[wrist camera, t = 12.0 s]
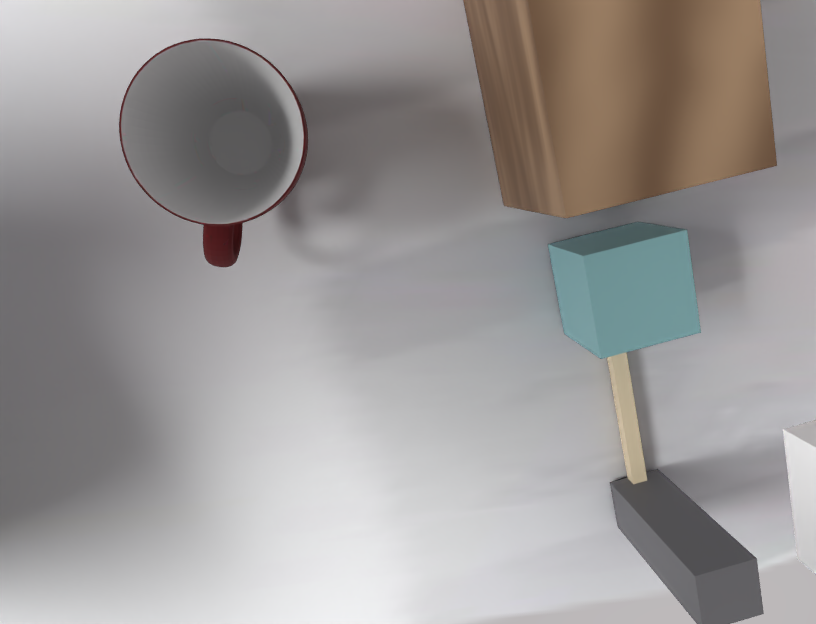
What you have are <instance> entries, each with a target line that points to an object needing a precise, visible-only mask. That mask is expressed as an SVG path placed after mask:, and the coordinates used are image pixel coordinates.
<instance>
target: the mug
mask: <svg viewBox="0 0 816 624" xmlns="http://www.w3.org/2000/svg"><path fill="white" fill-rule="evenodd" d="M119 133H120V141H121V146H122V151H123V154H124V157H125V160H126V163H127V165H128V167H129V169H130V171H131V173H132V175H133V177H134V178H135V180H136V181H137V183H138V184H139V186H140V187H141V188H142V189H143V190H144V192H145V193H146V194H147V195H148V196H149V197H150V198H151V199H152V200H153V201H155V202H156V203H157V204H158V205H159V206H161V207H162V208H164V209H165V210H167V211H168V212H170V213H172V214H174V215H176V216H178V217H180V218H182V219H185V220H188V221H191V222H194V223H198V224H203V225H204V227H203V248H204V255H205V258H206V260H207V261H208V262H209V263H210V264H212V265H213V266H218V267H229V266H232V265H233V264H234V263H235V262H236V260H237V258H238V255H239V251H240V246H241V239H242V223H243V222H247V221H249V220H252V219H255V218H257V217H259V216H262V215H264V214H265V213H267V212H269V211H270V210H272V209H273V208H274V207H276V206H277V205H278V204H279V203H281V202H282V201H283V200H284V199H285V198H286V197H287V196H288V194H289V193H290V192H291V191H292V189H293V188H294V186H295V185H296V183H297V181H298V180H299V177H300V175H301V173H302V170H303V167H304V165H305V161H306V156H307V149H308V131H307V124H306V119H305V116H304V112H303V109H302V107H301V104H300V102H299V100H298V98H297V95H296V94H295V92H294V90H293V89H292V87H291V85H290V84H289V83H288V81H287V80H286V79H285V77H284V76H283V75H282V74H281V73H280V71H279V70H278V69H277V68H276V67H275V66H274V65H273V64H271V63H270V62H269V61H268V60H267V59H265V58H264V57H263V56H261V55H259V54H258V53H256V52H255V51H253V50H251V49H249V48H247V47H244V46H242V45H239V44H237V43H233V42H230V41H225V40H220V39H194V40H188V41H184V42H180V43H177V44H174V45H172V46H170V47H167V48H165V49H163V50H162V51H160V52H159V53H157V54H156V55H154V56H153V57H152V58H150V59H149V60H148V61H147V62H146V63H145V64H144V65H143V66H142V67H141V68H140V69H139V71H138V72H137V73H136V75H135V76H134V78H133V79H132V81H131V82H130V84H129V86H128V88H127V91H126V93H125V96H124V99H123V102H122V106H121V111H120V121H119Z"/></svg>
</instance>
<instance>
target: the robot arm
mask: <svg viewBox="0 0 816 624" xmlns="http://www.w3.org/2000/svg"><path fill="white" fill-rule="evenodd" d="M783 435H784V444H785V453H786V462H787V471H788V480H789V490H790V499H791V508H792V517H793V526H794V535H795V544H796V553H797V560H798V561H800V562H801V563H802V564H803V565H804V566H806V567H807V568H808V569H810V570H811V571H812V572H813V573H814V574H815V575H816V420H813V421H810V422H806V423H803V424H799V425H795V426H792V427H788V428H785V429H783Z"/></svg>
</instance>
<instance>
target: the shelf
mask: <svg viewBox="0 0 816 624" xmlns="http://www.w3.org/2000/svg"><path fill="white" fill-rule="evenodd" d="M463 1H464V6H465V11H466V16H467V21H468V26H469V31H470V36H471V42H472V47H473V52H474V57H475V62H476V67H477V72H478V77H479V82H480V87H481V92H482V97H483V102H484V107H485V112H486V117H487V122H488V128H489V133H490V138H491V143H492V148H493V153H494V158H495V163H496V168H497V173H498V178H499V183H500V188H501V193H502V198H503V203H504V206H507V207H512V208H517V209H522V210H527V211H532V212H537V213H542V214H547V215H552V216H558V217H563V218H570V217H574V216H578V215H582V214H586V213H590V212H594V211H598V210H602V209H606V208H610V207H613V206H617V205H621V204H625V203H629V202H633V201H637V200H641V199H645V198H649V197H653V196H657V195H661V194H665V193H669V192H673V191H677V190H681V189H685V188H689V187H693V186H697V185H701V184H705V183H709V182H713V181H717V180H721V179H725V178H729V177H733V176H737V175H741V174H745V173H749V172H753V171H757V170H761V169H765V168H769V167H773V166H777V161H776V151H775V141H774V131H773V122H772V112H771V102H770V92H769V82H768V73H767V63H766V53H765V43H764V33H763V24H762V14H761V4H760V0H463Z"/></svg>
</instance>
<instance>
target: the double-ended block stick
mask: <svg viewBox="0 0 816 624" xmlns="http://www.w3.org/2000/svg"><path fill="white" fill-rule="evenodd" d="M548 248H549V253H550V259H551V264H552V270H553V275H554V280H555V286H556V291H557V297H558V302H559V308H560V313H561V318H562V324H563V329H564V334H565V335H567V336H568V337H570V338H571V339H573V340H574V341H576V342H577V343H578V344H580V345H581V346H583V347H584V348H586V349H587V350H589V351H590V352H592V353H593V354H594V355H596V356H597V357H599V358H600V359H603V358H607V360H608V366H609V372H610V378H611V384H612V389H613V395H614V401H615V407H616V413H617V419H618V425H619V430H620V436H621V442H622V448H623V454H624V460H625V465H626V471H627V477H628V478H624V479H621V480H617V481H614V482H610V486H611V491H612V497H613V502H614V508H615V514H616V519H617V525H618V528H619V529H620V530H621V531H622V533H623V534H624V535H625V536H626V537H627V539H628V540H629V541H630V542H631V544H632V545H633V546H634V547H635V548H636V550H637V551H638V552H639V553H640V555H641V556H642V557H643V558H644V560H645V561H646V562H647V563H648V564H649V566H650V567H651V568H652V569H653V571H654V572H655V573H656V574H657V575H658V577H659V578H660V579H661V580H662V582H663V583H664V584H665V585H666V586H667V588H668V589H669V590H670V591H671V593H672V594H673V595H674V596H675V597H676V599H677V600H678V601H679V602H680V603H681V605H682V606H683V607H684V608H685V610H686V611H687V612H688V613H689V615H690V616H691V617H692V618H693V619H694V621H695V622H696V623H697V624H730V623H734V622H738V621H741V620H744V619H748V618H751V617H754V616H758V615H761V614H763V605H762V597H761V589H760V582H759V573H758V565H757V558H756V557H754V556H753V555H752V554H751V553H750V552H749V551H748V550H747V549H746V548H744V547H743V546H742V545H741V544H740V543H739V542H738V541H737V540H736V539H735V538H733V537H732V536H731V535H730V534H729V533H728V532H727V531H726V530H725V529H723V528H722V527H721V526H720V525H719V524H718V523H717V522H716V521H715V520H713V519H712V518H711V517H710V516H709V515H708V514H707V513H706V512H705V511H704V510H702V509H701V508H700V507H699V506H698V505H697V504H696V503H695V502H694V501H692V500H691V499H690V498H689V497H688V496H687V495H686V494H685V493H684V492H682V491H681V490H680V489H679V488H678V487H677V486H676V485H675V484H674V483H672V482H671V481H670V480H669V479H668V478H667V477H666V476H665V475H664V474H663V473H661V472H660V471H659V470H658V469H657V470H653V471H650V472H646V468H645V462H644V456H643V450H642V444H641V438H640V432H639V426H638V420H637V414H636V407H635V401H634V395H633V389H632V383H631V377H630V371H629V365H628V359H627V352H629V351H633V350H637V349H641V348H644V347H648V346H652V345H656V344H659V343H663V342H667V341H671V340H675V339H678V338H682V337H686V336H690V335H693V334H697V333H701V329H700V322H699V315H698V307H697V300H696V293H695V285H694V278H693V271H692V263H691V256H690V248H689V241H688V234H687V230H685V229H679V228H673V227H667V226H661V225H655V224H649V223H643V222H635V223H631V224H627V225H623V226H619V227H615V228H611V229H607V230H603V231H599V232H595V233H591V234H587V235H583V236H579V237H575V238H571V239H567V240H563V241H559V242H555V243H551V244H548Z"/></svg>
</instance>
